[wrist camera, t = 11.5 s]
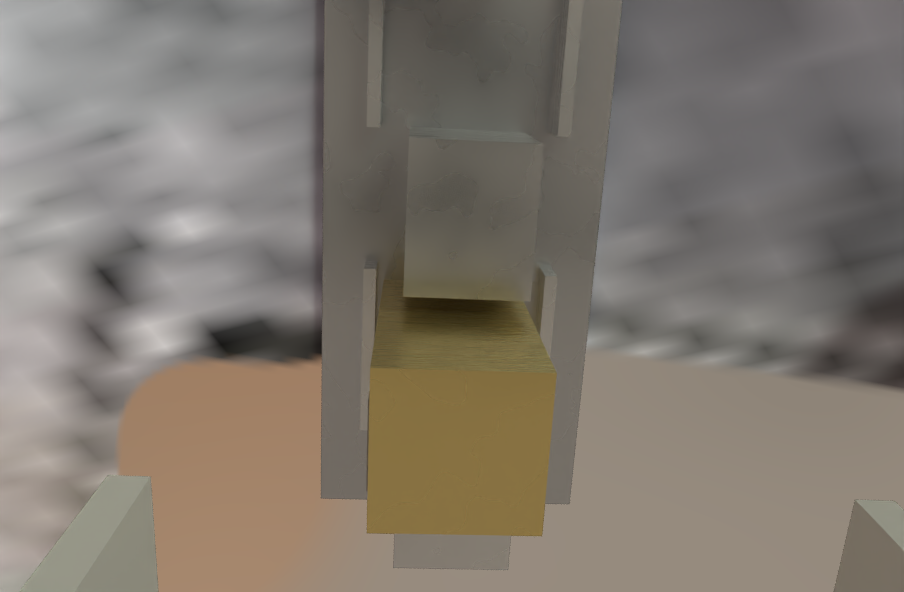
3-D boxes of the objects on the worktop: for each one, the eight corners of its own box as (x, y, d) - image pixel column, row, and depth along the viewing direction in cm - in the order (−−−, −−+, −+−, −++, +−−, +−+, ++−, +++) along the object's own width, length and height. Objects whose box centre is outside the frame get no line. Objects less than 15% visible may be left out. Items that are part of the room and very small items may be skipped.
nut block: (382, 279, 26) (367, 368, 18) (517, 284, 26) (558, 372, 19) (379, 402, 27) (364, 533, 20) (508, 405, 27) (544, 536, 20)
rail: (328, -191, 23) (306, -253, 18) (635, -169, 23) (686, -225, 19) (322, 489, 29) (305, 566, 24) (566, 495, 29) (592, 571, 25)
